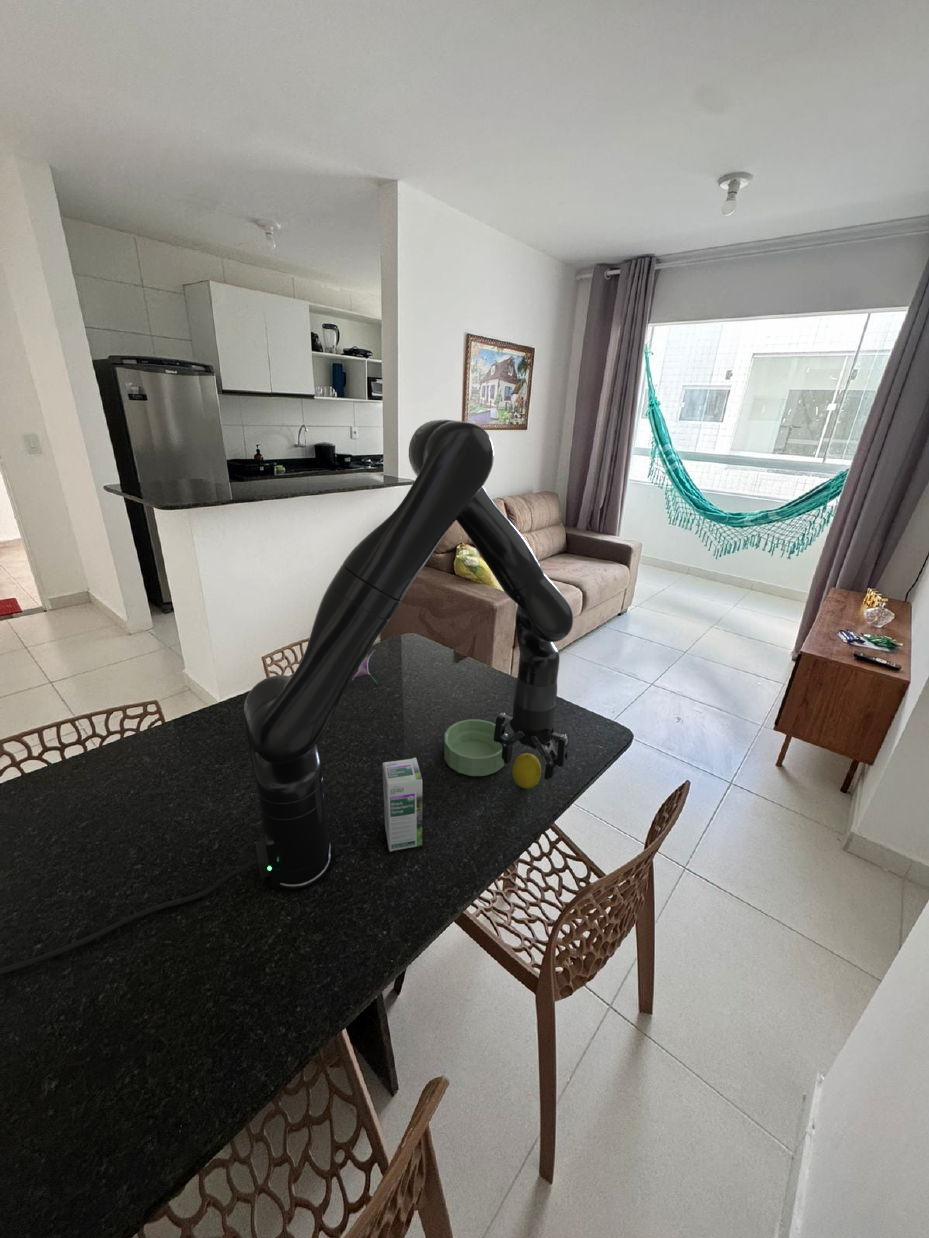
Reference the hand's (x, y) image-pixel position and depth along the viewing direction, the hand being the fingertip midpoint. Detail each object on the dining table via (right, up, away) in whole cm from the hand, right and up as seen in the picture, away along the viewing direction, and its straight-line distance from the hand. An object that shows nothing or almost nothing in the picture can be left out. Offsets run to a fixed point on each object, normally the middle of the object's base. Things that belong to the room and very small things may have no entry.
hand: (527, 769), depth 99 cm
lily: (-39, +12, +35) cm, 54 cm away
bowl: (-10, 0, +10) cm, 14 cm away
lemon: (0, -4, +2) cm, 5 cm away
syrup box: (-23, -9, -10) cm, 27 cm away
